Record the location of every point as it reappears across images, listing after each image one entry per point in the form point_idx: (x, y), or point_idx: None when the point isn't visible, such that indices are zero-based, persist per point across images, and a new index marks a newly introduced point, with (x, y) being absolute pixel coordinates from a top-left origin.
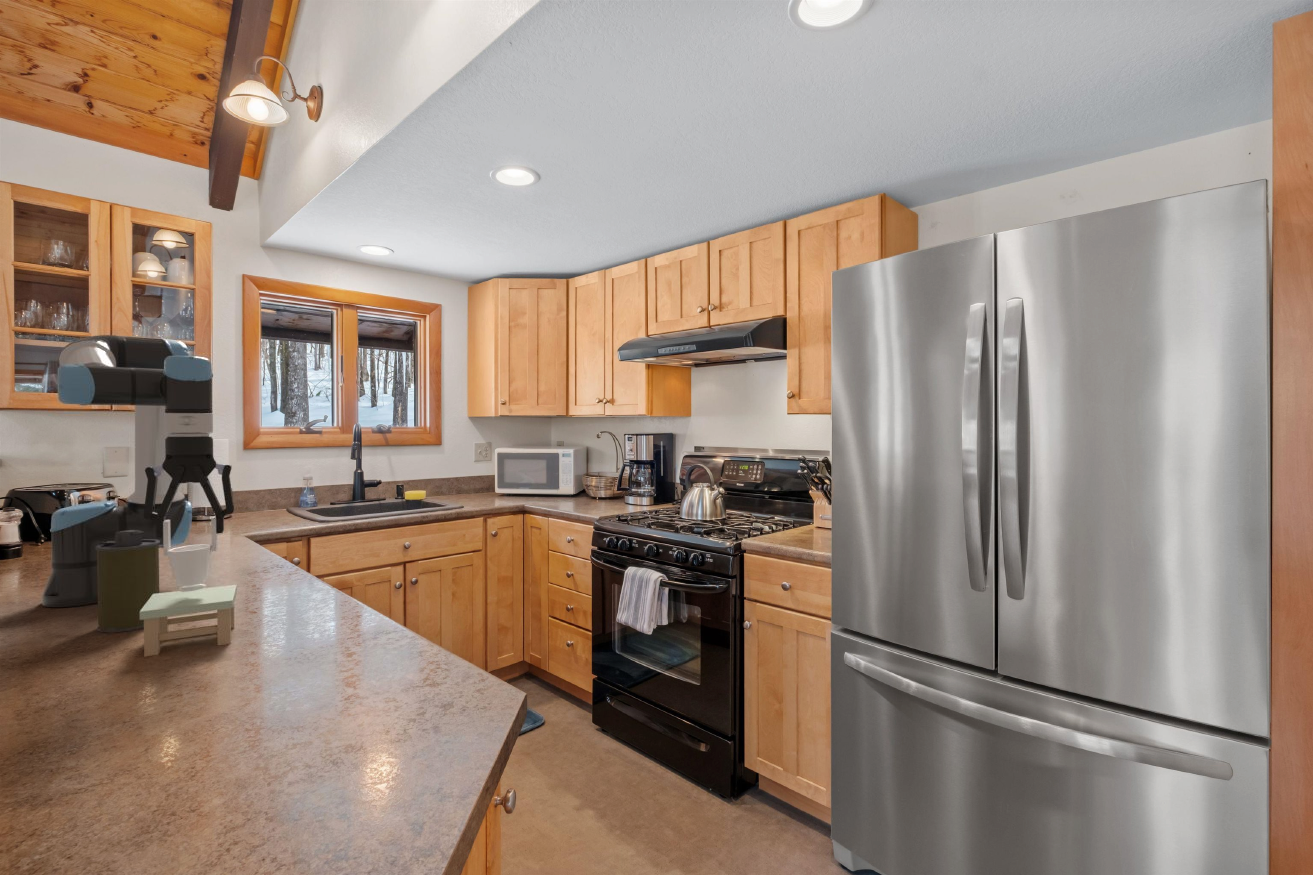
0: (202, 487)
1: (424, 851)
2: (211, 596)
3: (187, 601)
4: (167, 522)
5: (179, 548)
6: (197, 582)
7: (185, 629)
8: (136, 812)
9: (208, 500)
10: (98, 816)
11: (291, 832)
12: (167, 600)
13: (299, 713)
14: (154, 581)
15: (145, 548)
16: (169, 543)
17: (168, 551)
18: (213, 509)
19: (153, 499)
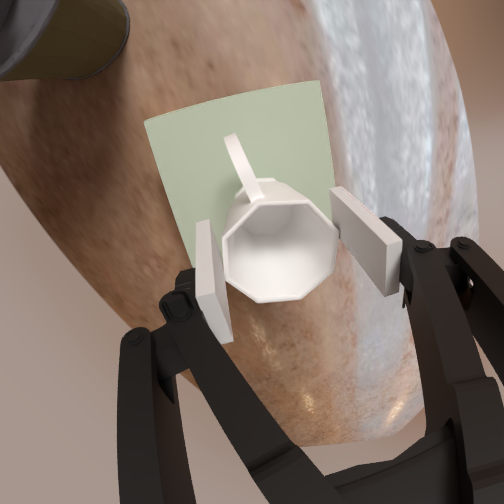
0: (427, 424)
1: (392, 433)
2: (292, 186)
3: None
4: (230, 337)
5: (239, 226)
6: (283, 228)
7: None
8: (309, 432)
9: (417, 357)
10: (295, 434)
11: (361, 433)
12: (208, 196)
13: (376, 373)
14: (100, 17)
15: (47, 27)
16: (218, 259)
17: (230, 283)
18: (411, 317)
19: (184, 441)
